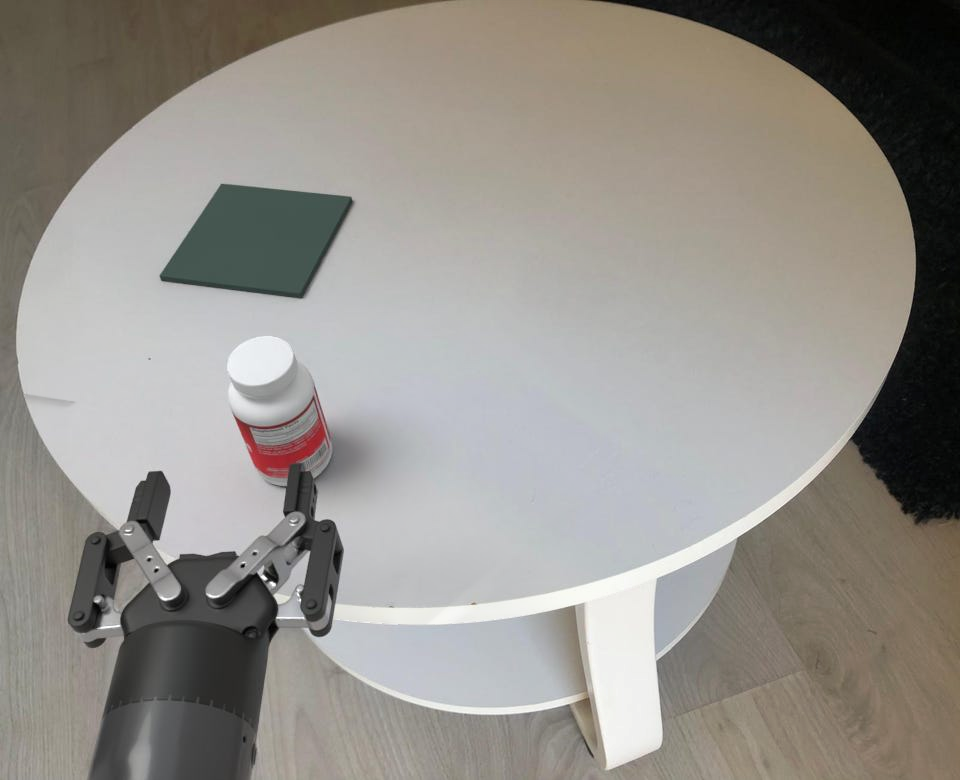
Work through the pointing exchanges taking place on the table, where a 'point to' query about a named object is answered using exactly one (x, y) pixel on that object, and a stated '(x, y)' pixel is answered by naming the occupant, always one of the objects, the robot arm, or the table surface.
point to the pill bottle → (277, 409)
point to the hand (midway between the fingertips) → (229, 474)
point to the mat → (258, 240)
